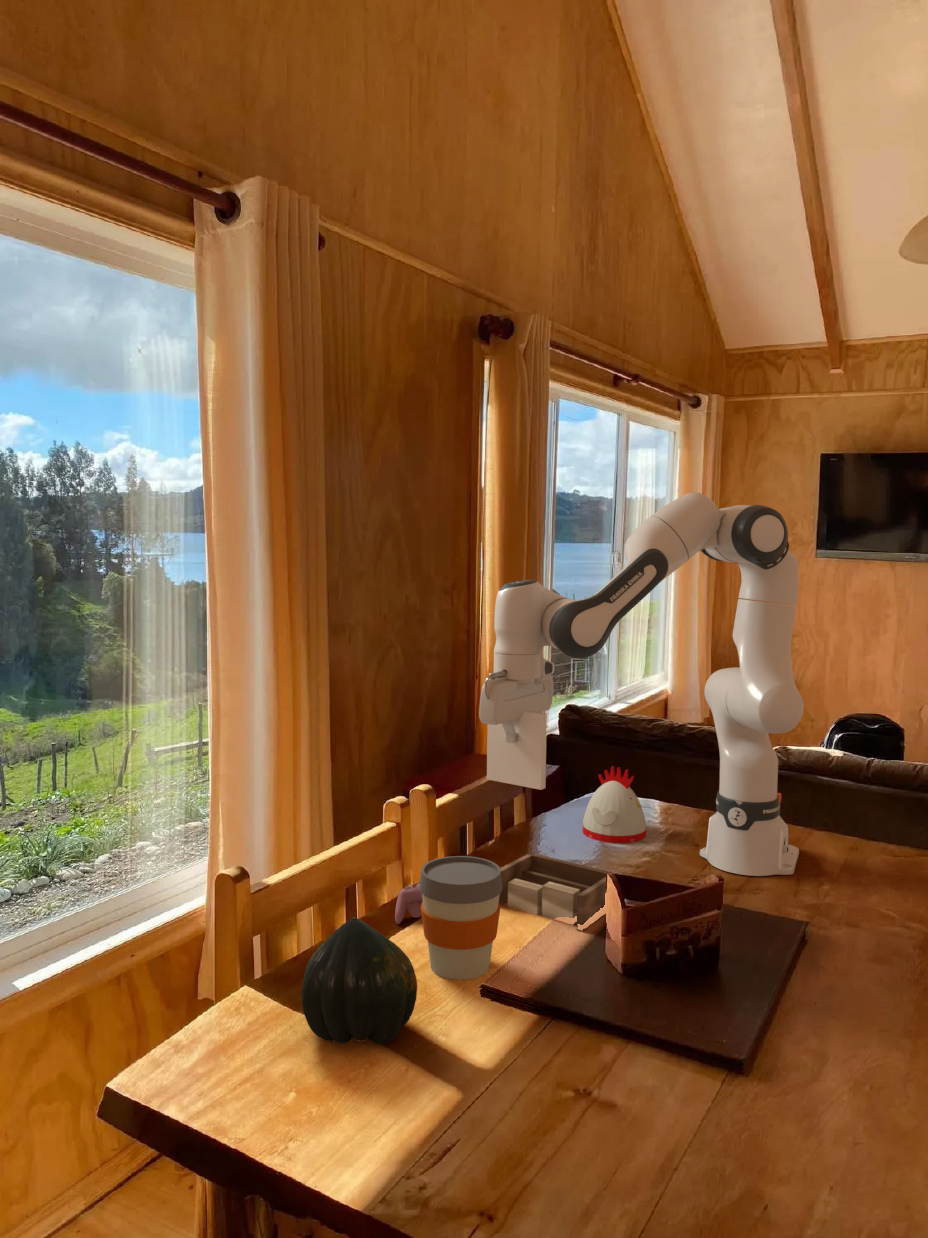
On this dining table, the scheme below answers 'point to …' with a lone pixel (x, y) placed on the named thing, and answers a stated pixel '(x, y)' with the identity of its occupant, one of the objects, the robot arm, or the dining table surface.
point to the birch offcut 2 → (559, 901)
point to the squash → (358, 986)
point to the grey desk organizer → (559, 880)
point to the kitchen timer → (614, 811)
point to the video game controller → (408, 902)
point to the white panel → (519, 752)
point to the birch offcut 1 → (525, 896)
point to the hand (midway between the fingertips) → (516, 741)
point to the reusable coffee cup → (460, 914)
